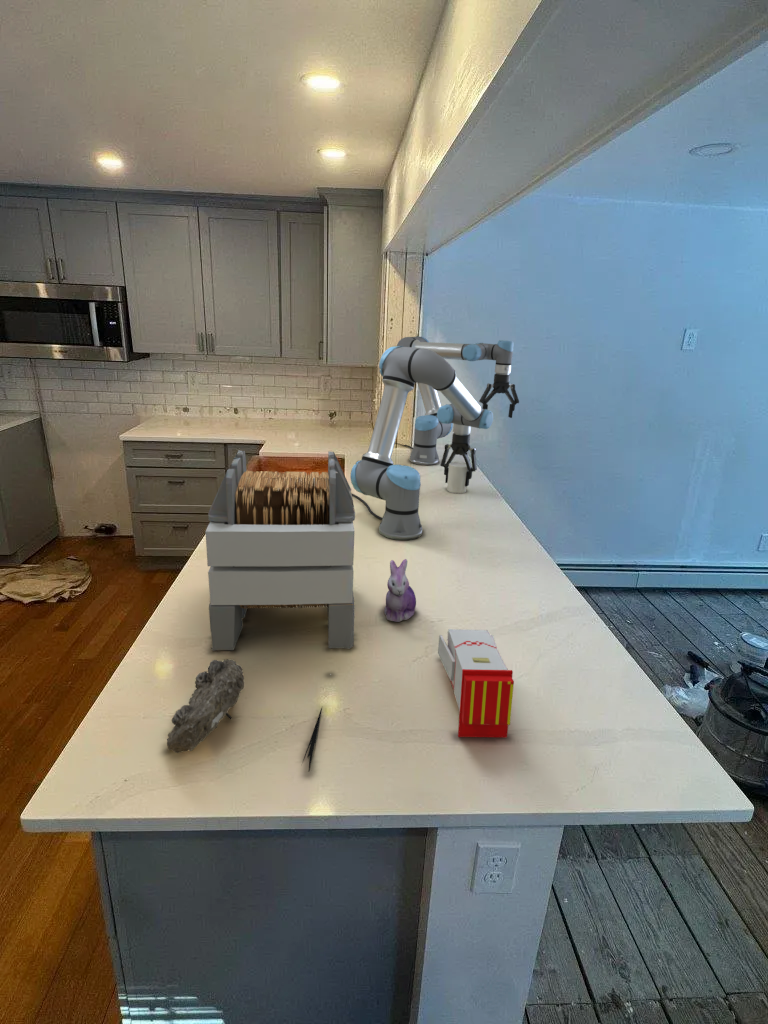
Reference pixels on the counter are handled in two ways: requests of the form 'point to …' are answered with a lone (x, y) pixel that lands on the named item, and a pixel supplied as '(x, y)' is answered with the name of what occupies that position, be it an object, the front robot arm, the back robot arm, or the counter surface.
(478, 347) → the back robot arm
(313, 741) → the feather
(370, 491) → the front robot arm
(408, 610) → the figurine
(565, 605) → the counter surface
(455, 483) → the can
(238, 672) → the fossil
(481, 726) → the toy
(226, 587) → the record crate
